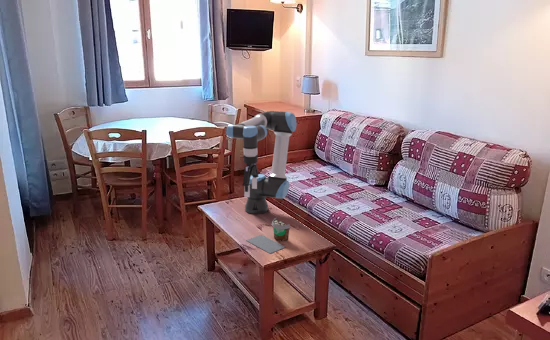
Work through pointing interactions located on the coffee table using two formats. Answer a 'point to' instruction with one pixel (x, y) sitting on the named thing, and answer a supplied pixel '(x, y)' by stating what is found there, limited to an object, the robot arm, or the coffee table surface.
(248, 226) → the coffee table surface
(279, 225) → the food container
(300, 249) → the coffee table surface
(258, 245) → the mat
